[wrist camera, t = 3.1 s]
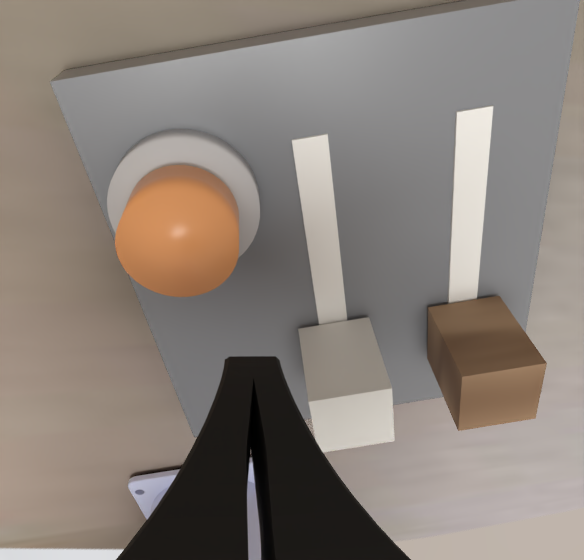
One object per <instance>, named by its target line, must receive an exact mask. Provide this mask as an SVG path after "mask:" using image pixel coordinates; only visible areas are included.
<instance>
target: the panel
mask: <svg viewBox="0 0 584 560" xmlns="http://www.w3.org/2000/svg"><path fill="white" fill-rule="evenodd" d="M579 2H580V0H463V1H458V2H452V3H446V4H440V5H435V6H429V7H423V8H418V9H412V10H406V11H400V12H395V13H389V14H383V15H377V16H372V17H366V18H360V19H355V20H349V21H343V22H337V23H332V24H326V25H320V26H314V27H309V28H303V29H297V30H291V31H286V32H280V33H274V34H269V35H263V36H257V37H251V38H246V39H240V40H234V41H228V42H223V43H217V44H211V45H205V46H200V47H194V48H188V49H183V50H177V51H171V52H165V53H160V54H154V55H148V56H142V57H137V58H131V59H125V60H119V61H114V62H108V63H102V64H97V65H91V66H85V67H79V68H74V69H68V70H64V71H62V72H61V73H60V74H59V75H58V76H56V77H55V78H54V79H53V80H51V81H50V83H51V86H52V88H53V91H54V93H55V96H56V98H57V101H58V103H59V106H60V108H61V111H62V113H63V115H64V118H65V120H66V123H67V125H68V128H69V130H70V133H71V135H72V138H73V140H74V143H75V145H76V147H77V150H78V152H79V155H80V157H81V160H82V162H83V165H84V167H85V170H86V172H87V175H88V177H89V179H90V182H91V184H92V187H93V189H94V192H95V194H96V197H97V199H98V202H99V204H100V207H101V209H102V211H103V214H104V216H105V219H106V221H107V224H108V226H109V229H110V231H111V234H112V236H113V239H114V241H115V235H116V230H117V227H118V224H119V221H120V219H121V217H122V214H123V212H124V209H125V207H126V204H127V202H128V200H129V197H130V195H131V193H132V191H133V189H134V187H135V186H136V184H137V183H138V182H139V181H140V180H141V179H142V178H143V177H144V176H146V175H147V174H148V173H150V172H152V171H154V170H156V169H159V168H161V167H165V166H170V165H188V166H193V167H197V168H201V169H203V170H206V171H208V172H210V173H211V174H213V175H215V176H216V177H217V178H219V179H220V180H221V181H222V182H223V183H224V184H225V185H226V186H227V187H228V188H229V189H230V191H231V192H232V194H233V196H234V198H235V200H236V202H237V206H238V210H239V255H238V260H237V263H236V266H235V268H234V270H233V272H232V273H231V275H230V276H229V277H228V278H227V279H226V280H225V281H224V282H223V283H222V284H221V285H220V286H218V287H216V288H215V289H213V290H211V291H209V292H207V293H204V294H201V295H196V296H190V297H174V296H167V295H163V294H159V293H156V292H154V291H151V290H149V289H147V288H146V287H144V286H142V285H141V284H139V283H138V282H136V281H135V280H134V279H133V278H132V277H131V276H130V275H129V274H128V275H129V278H130V280H131V283H132V285H133V288H134V290H135V293H136V295H137V298H138V300H139V303H140V305H141V307H142V310H143V312H144V315H145V317H146V320H147V322H148V325H149V327H150V330H151V332H152V335H153V337H154V339H155V342H156V344H157V347H158V349H159V352H160V354H161V357H162V359H163V362H164V364H165V367H166V369H167V371H168V374H169V376H170V379H171V381H172V384H173V386H174V389H175V391H176V394H177V396H178V399H179V401H180V403H181V406H182V408H183V411H184V413H185V416H186V418H187V421H188V423H189V426H190V428H191V431H192V433H193V435H194V437H198V435H199V433H200V431H201V429H202V427H203V425H204V423H205V420H206V418H207V416H208V413H209V411H210V408H211V406H212V403H213V401H214V398H215V396H216V393H217V390H218V387H219V384H220V381H221V377H222V373H223V369H224V362H225V359H227V358H228V357H230V356H276V357H277V358H278V359H279V360H280V364H281V368H282V371H283V374H284V377H285V379H286V382H287V384H288V387H289V389H290V392H291V394H292V396H293V398H294V401H295V403H296V405H297V407H298V409H299V411H300V413H301V415H302V417H303V419H310V418H311V413H310V407H309V402H308V395H307V388H306V381H305V374H304V367H303V360H302V352H301V345H300V338H299V331H298V329H300V328H306V327H312V326H318V325H324V324H330V323H336V322H342V321H349V320H355V319H361V318H367V317H369V319H370V322H371V325H372V328H373V331H374V334H375V337H376V340H377V344H378V347H379V350H380V353H381V356H382V359H383V362H384V365H385V368H386V371H387V374H388V377H389V380H390V383H391V386H392V396H393V405H396V404H403V403H409V402H415V401H421V400H427V399H434V398H440V397H444V396H443V394H442V392H441V389H440V387H439V385H438V382H437V380H436V378H435V376H434V373H433V371H432V369H431V366H430V364H429V362H428V359H427V344H428V307H433V306H439V305H446V304H452V303H458V302H464V301H470V300H476V299H482V298H488V297H494V296H500V297H501V299H502V300H503V302H504V303H505V304H506V306H507V307H508V309H509V310H510V312H511V313H512V314H513V316H514V317H515V319H516V320H517V322H518V323H519V324H520V326H521V327H522V329H523V330H524V332H526V326H527V320H528V313H529V307H530V301H531V295H532V289H533V283H534V277H535V271H536V265H537V258H538V252H539V246H540V240H541V234H542V228H543V222H544V216H545V210H546V203H547V197H548V191H549V185H550V179H551V173H552V167H553V161H554V155H555V149H556V142H557V136H558V130H559V124H560V118H561V112H562V106H563V100H564V94H565V87H566V81H567V75H568V69H569V63H570V57H571V51H572V45H573V39H574V32H575V26H576V20H577V14H578V8H579Z"/></svg>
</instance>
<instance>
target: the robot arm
mask: <svg viewBox="0 0 584 560" xmlns="http://www.w3.org/2000/svg"><path fill="white" fill-rule="evenodd" d="M250 450H251V453H252V457H251V458H250ZM128 488H129V490H130V492H131V493H132V495H133V497H134V499H135V500H136V502H137V504H138V505H139V507H140V509H141V511H142V512H143V514H144V516H145V518H146V519H147V521H146V522H145V523H144V524H143V526H142V527H141V528H140V530H139V531H138V532H137V534H136V535H135V536H134V538H133V539H132V540H131V542H130V543H129V544H128V546H127V547H126V548H125V549H124V551H123V552H122V553H121V554H120V556H119V557H118V558H117V559H116V560H411V559H410V558H409V557H408V556H406V554H405V553H404V552H403V551H402V550H401V549H400V548H399V547H398V546H397V545H396V544H395V543H394V542H393V541H392V540H391V539H390V538H389V537H388V536H387V535H386V533H385V532H384V531H383V530H382V529H381V528H380V527H379V526H378V525H377V524H376V522H375V521H374V520H373V519H372V518H371V516H370V515H369V514H368V513H367V512H366V510H365V509H364V508H363V507H362V506H361V504H360V503H359V502H358V501H357V500H356V499H355V497H354V496H353V495H352V494H351V492H350V491H349V489H348V488H347V487H346V485H345V484H344V483H343V481H342V480H341V479H340V477H339V476H338V474H337V473H336V472H335V470H334V469H333V467H332V466H331V464H330V463H329V461H328V460H327V458H326V457H325V455H324V454H323V452H322V450H321V449H320V447H319V445H318V444H317V442H316V440H315V439H314V437H313V435H312V434H311V432H310V430H309V428H308V426H307V425H306V423H305V421H304V419H303V417H302V415H301V413H300V411H299V409H298V407H297V405H296V403H295V401H294V398H293V396H292V394H291V392H290V389H289V387H288V384H287V382H286V379H285V377H284V374H283V371H282V368H281V364H280V360H279V359H278V358H277V357H276V356H230V357H228V358H227V359H225V362H224V369H223V373H222V377H221V381H220V384H219V387H218V390H217V393H216V396H215V398H214V401H213V403H212V406H211V408H210V411H209V413H208V416H207V418H206V420H205V423H204V425H203V427H202V429H201V431H200V433H199V435H198V437H197V439H196V441H195V443H194V445H193V447H192V449H191V451H190V453H189V455H188V456H187V458H186V460H185V462H184V464H183V465H182V467H181V469H177V470H171V471H165V472H158V473H152V474H146V475H140V476H134V477H132V478H130V479H129V482H128Z"/></svg>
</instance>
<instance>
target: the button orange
mask: <svg viewBox="0 0 584 560" xmlns="http://www.w3.org/2000/svg"><path fill="white" fill-rule="evenodd" d="M115 247H116V252H117V255H118V258H119V260H120V262H121V264H122V266H123V267H124V269H125V270H126V272H127V273H128V274H129V275H130V276H131V277H132V278H133V279H134V280H135V281H136V282H138V283H139V284H141V285H142V286H144V287H146V288H147V289H149V290H151V291H154V292H156V293H159V294H163V295H167V296H174V297H190V296H196V295H201V294H204V293H207V292H209V291H211V290H213V289H215V288H216V287H218V286H220V285H221V284H222V283H223V282H224V281H225V280H226V279H227V278H228V277H229V276H230V275H231V273H232V272H233V270H234V268H235V266H236V263H237V260H238V255H239V210H238V206H237V202H236V200H235V198H234V196H233V194H232V192H231V191H230V189H229V188H228V187H227V186H226V185H225V184H224V183H223V182H222V181H221V180H220V179H219V178H217V177H216V176H215V175H213V174H211V173H210V172H208V171H206V170H203V169H201V168H197V167H193V166H188V165H170V166H165V167H161V168H159V169H156V170H154V171H152V172H150V173H148V174H147V175H146V176H144V177H143V178H142V179H141V180H140V181H139V182H138V183H137V184H136V186H135V187H134V189H133V191H132V193H131V195H130V197H129V200H128V202H127V204H126V207H125V209H124V212H123V214H122V217H121V219H120V221H119V224H118V227H117V230H116V235H115Z"/></svg>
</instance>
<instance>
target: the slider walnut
mask: <svg viewBox="0 0 584 560" xmlns="http://www.w3.org/2000/svg"><path fill="white" fill-rule="evenodd" d="M427 359H428V362H429V364H430V366H431V369H432V371H433V373H434V376H435V378H436V380H437V382H438V385H439V387H440V389H441V392H442V394H443V396H444V399H445V401H446V403H447V406H448V408H449V410H450V413H451V415H452V417H453V420H454V422H455V424H456V427H457V429H458V431H460V430H466V429H473V428H479V427H485V426H491V425H497V424H504V423H510V422H516V421H522V420H528V419H535V418H536V413H537V408H538V403H539V398H540V393H541V388H542V384H543V379H544V374H545V369H546V364H547V363H546V362H545V360H544V359H543V357H542V356H541V354H540V353H539V352H538V350H537V349H536V347H535V346H534V344H533V343H532V342H531V340H530V339H529V337H528V336H527V334H526V333H525V332H524V330H523V329H522V327H521V326H520V324H519V323H518V322H517V320H516V319H515V317H514V316H513V314H512V313H511V312H510V310H509V309H508V307H507V306H506V304H505V303H504V302H503V300H502V299H501V297H500V296H494V297H488V298H482V299H476V300H470V301H464V302H458V303H452V304H446V305H439V306H433V307H428V344H427Z"/></svg>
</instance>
